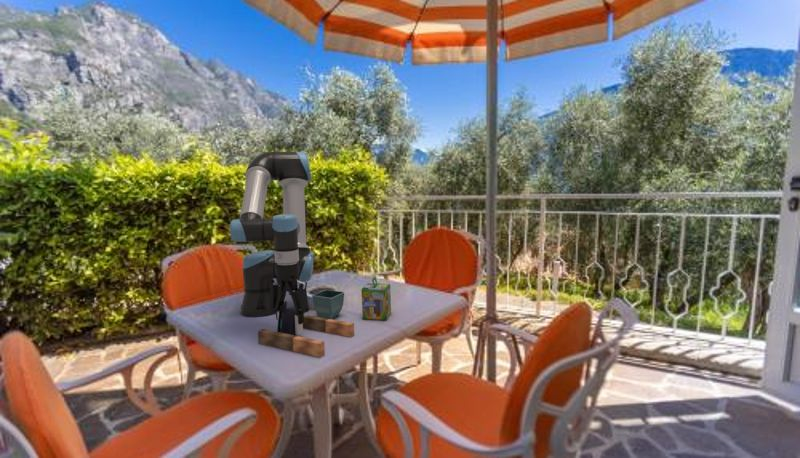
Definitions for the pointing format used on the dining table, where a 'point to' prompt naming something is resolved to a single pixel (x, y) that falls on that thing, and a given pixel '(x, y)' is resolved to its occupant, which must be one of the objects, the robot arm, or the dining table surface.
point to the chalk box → (376, 301)
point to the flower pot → (328, 303)
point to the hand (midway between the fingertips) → (290, 331)
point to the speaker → (286, 320)
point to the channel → (304, 343)
